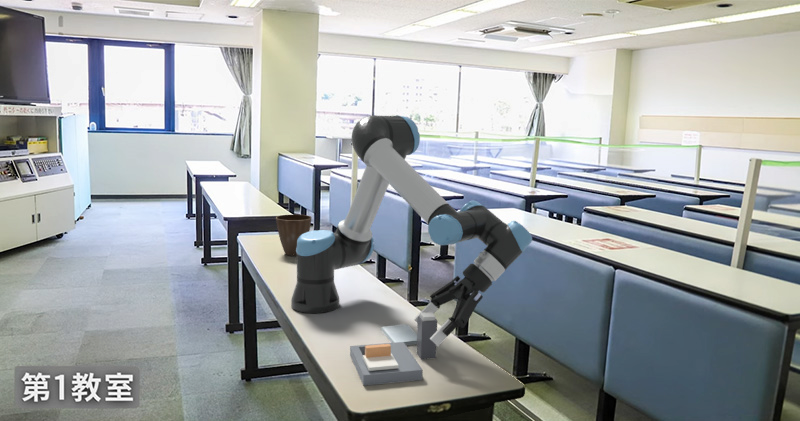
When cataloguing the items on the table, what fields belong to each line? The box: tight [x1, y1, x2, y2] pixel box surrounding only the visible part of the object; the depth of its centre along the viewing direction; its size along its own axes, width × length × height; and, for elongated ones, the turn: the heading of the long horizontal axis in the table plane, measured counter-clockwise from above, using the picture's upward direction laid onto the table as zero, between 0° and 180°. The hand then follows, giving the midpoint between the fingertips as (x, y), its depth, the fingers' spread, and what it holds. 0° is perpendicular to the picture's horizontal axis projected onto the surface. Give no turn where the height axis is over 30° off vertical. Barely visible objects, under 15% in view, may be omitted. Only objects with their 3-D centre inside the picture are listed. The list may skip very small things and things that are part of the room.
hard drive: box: [380, 324, 417, 346], centre depth 163 cm, size 2×8×12 cm
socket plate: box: [349, 342, 424, 386], centre depth 143 cm, size 17×14×2 cm
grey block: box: [416, 312, 438, 360], centre depth 149 cm, size 4×4×11 cm
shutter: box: [363, 343, 398, 371], centre depth 138 cm, size 7×7×3 cm
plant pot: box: [275, 214, 312, 257], centre depth 250 cm, size 15×15×16 cm
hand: (425, 332), depth 149 cm, fingers open, 13 cm apart
